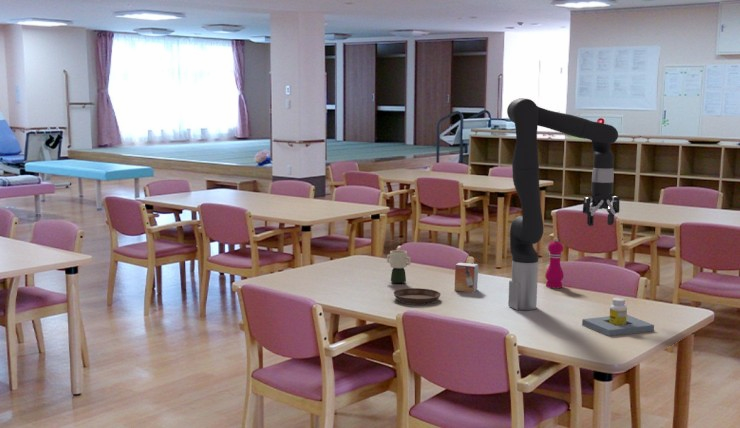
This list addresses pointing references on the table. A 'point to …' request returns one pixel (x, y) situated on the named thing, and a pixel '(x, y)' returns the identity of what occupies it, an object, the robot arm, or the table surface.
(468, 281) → the small box
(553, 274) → the pepper mill
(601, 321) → the hole board
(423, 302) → the plant saucer
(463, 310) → the table surface
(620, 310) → the supplement bottle
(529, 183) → the robot arm
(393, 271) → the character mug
